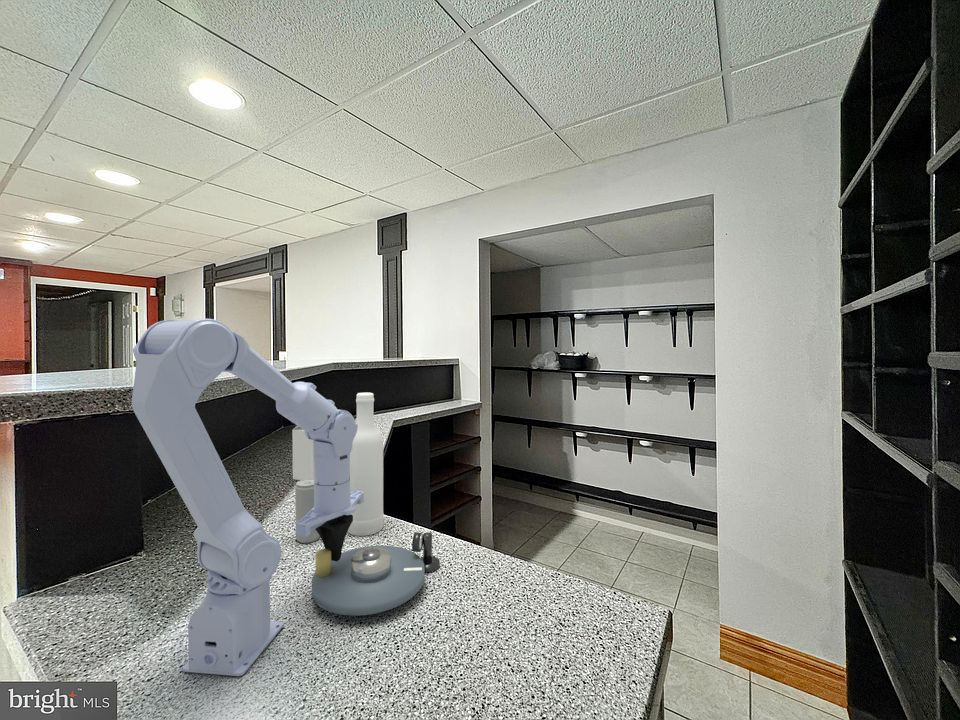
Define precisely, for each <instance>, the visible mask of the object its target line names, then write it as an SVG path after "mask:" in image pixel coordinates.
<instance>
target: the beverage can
mask: <svg viewBox="0 0 960 720" xmlns="http://www.w3.org/2000/svg"><path fill="white" fill-rule="evenodd" d="M295 483H296V484H295V487H294V489H295V490H294V491H295V493H294V494H295V495H294V496H295V498H294V499H295V523H296V522H298V521H300V520H301V519H302V518H303V517H304V516H305V515H306V514H307V513H308V512H309V511H310V510H311V509H312V508H313V507H314V479H304V480H297V482H295ZM319 538H321V537H320V535H319V534H318V532H317V531H316V529H314V530H312V531H311V532H310V535H309V536H307V537H303V536H298V535H296V534H295V540H297V542H299V543H301V544H310V543H313V542H316V541H317V540H318V539H319Z"/></svg>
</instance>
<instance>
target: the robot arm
mask: <svg viewBox="0 0 960 720" xmlns="http://www.w3.org/2000/svg"><path fill="white" fill-rule="evenodd" d="M132 353H133V355H134V360H135V364H136V365H135V372H134V377H133V378H134V380H133V387H132V396H131V408H132V410H133V412H134V414H135V416H136V418H137V419H138V421H139V423H140V425H141V427H142V428H143V431H144V432H145V434H146V437H147V438H148V440H149V441H150V443H151V445H152V447H153V449H154V451H155V452H156V454H157V455H158V458H159V459H160V461H161V463H162V465H163V467H164V468H165V470H166V472H167V474H168V476H169V477H170V479H171V481H172V483H173V484H174V486H175V488H176V490H177V492H178V493H179V496H180V497H181V499H182V500H183V502H184V504H185V506H186V508H187V510H188V512H189V513H190V515H191V516H192V518H193V520H194V523H195V524H196V526H197V527H196V529H195V530H194V531H193V537H194V539H195V541H196V544H197V545H196V546H197V548H196V549H197V551H196V558H197V562H198V564H199V565H200V567H202V568H203V569H205V570H207V590H206V594H205V596H204V598H203V600H202V602H201V604H200V605H198V607H197V608H196V609H195V611H193V613H192V614H191V616H190V618H189V621H188V624H187V625H188V627H187V630H188V632H187V633H188V635H187V636H188V637H187V639H188V641H187V642H188V644H187V645H188V646H187V647H188V661H187V662H186V663H185V664H184V665H183V666H182V672H186V673H195V674H196V673H197V674H206V675H207V674H209V675H219V676H232V677H241V676H243V675H244V674H246V673H247V671H248V670H249V669H250V668H251V666H252V665H253V664H254V662H255V661H257V659H258V657H259V656H260V655H261V654H262V653H263V651H264V650H265V649H266V648H267V647H268V646H269V644H271V642H272V641H273V640H274V639H275V637H276V636H277V635H278V634H279V632H280V631H281V629H282V628H283V627H284V624H285V623H284V622H283V621H275V620H271V586H270V585H271V583H270V581H271V579H272V578H273V577H272V576H273V574H275V571H276V570H277V568H278V566H279V564H280V562H281V556H282V547H281V544H280V541H279V540H278V539H277V538H276V537H274V536H271V535H270V534H268V533H267V532H266V530H265V528H264V527H263V524H262V523H261V522H260V521H258V520H257V519H256V518H255V517H254V516H253V515H252V514H251V513H250V512H249V511H247V510H246V508H245V507H244V504H243V501H242V500H241V499H240V496H239V494H238V492H237V490H236V488H235V486H234V484H233V482H232V480H231V478H230V476H229V474H228V472H227V470H226V467H225V466H224V464H223V462H222V460H221V456H220V455H219V453H218V451H217V450H216V448H215V445H214V443H213V442H212V439H211V438H210V437H211V436H210V435H209V433H208V431H207V429H206V426H205V425H204V423H203V421H202V418H201V417H200V415H199V413H198V411H197V408H196V404H197V402H198V399H199V398H200V397H201V395H202V393H203V391H204V390H205V389H207V387H208V386H209V385H210V384H211V383H213V381H214V380H215V379H216V378H218V377H219V376H220V375H221V374H222V373H224V372H225V373H230V374H232V375H234V376H235V377H237V378H238V379H241V381H242V382H243V381H244V382H245V383H247V384H248V385H250V386H252V387H254V389H257V390H258V391H260V392H261V393H263V394H264V395H265V396H268V397H270V398H271V399H273V400H274V401H275V409H276V411H277V413H278V414H279V415H281V416H282V417H284V418H285V419H287V420H288V421H290V422H291V423H292V424H294V425H296V426H297V425H298V426H299V427H301V428H302V429H304V431H305V435H306V437H307V438H308V439H311V440H314V441H313V451H314V507H313V508H312V509H311V510H310V511H309V512H308V513H307V514H306V515H305V516H304V517H303V518H302V519H301V520H300V521H298V522H296V521H295V536H296V535H298V536H303V537H307V536H309V535H310V532H311V531H312V530H314V529H316V531H317V532H318V534H319V535H320V537H319V538H320V539H321V542H322V544H323V546H324V549H330V550H331V560H332V561H338V560H340V558H341V553H343V552H342V551H343V546H344V543H345V539H346V536H347V534H348V529H349V527H350V525H351V523H352V522H353V515H350V514H352V513H354V512H355V507H354V506H355V505H356V504H361V503H363V502H364V492H361V491H353V492H351V493H350V453H351V450H352V449H353V448H352V443H353V439H354V437H355V435H356V433H357V429H358V424H357V422H356V419H355V418H354V416H353V415H352V413H350V411H348V410H346V409H338V407H336V405H335V402H334V401H333V400H332V399H327V398H326V397H324V396H323V395H322V394H320V393H319V392H318V391H317V390H316V389H317V386H316V385H315V383H312V382H305V381H295V382H292V381H291V380H289V378H287V377H286V376H285V375H284V374H283V373H281V371H279V370H278V369H277V368H275V366H273V365H272V364H271V363H270V362H269V361H268V360H266V359H265V358H264V357H263V356H262V355H260V353H258V352H257V351H256V350H255V349H254V348H252V347H251V345H249V343H248V342H247V340H246V338H245V337H244V336H243V335H241V334H239V333H237V332H235V331H233V330H231V328H230V327H229V326H228V325H227V324H225V323H224V322H221V321H219V320H218V319H214V318H201V319H197V320H194V319H193V320H173V319H172V320H171V319H167V320H166V319H165V320H160V321H158V322H155V323H153V324H152V325H150V326H149V327H148V328H147V329H146V330H145V331H144V333H143V334H142V335H141V337H140V338H139V340H138V341H137V342H136V344H135V346H134V347H133V349H132Z"/></svg>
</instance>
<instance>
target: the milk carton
mask: <svg viewBox="0 0 960 720" xmlns="http://www.w3.org/2000/svg"><path fill="white" fill-rule="evenodd" d="M291 431H292V433H291V435H292V480H297V481H300V480H304V479H314V451H313V441H314V440H311V439H308V438H307V437H306V435H305V431H304V429H302V428H301V427H299V426H298V425H296V426H295V427H294V428H293V429H292V430H291Z"/></svg>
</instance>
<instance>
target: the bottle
mask: <svg viewBox="0 0 960 720" xmlns="http://www.w3.org/2000/svg"><path fill="white" fill-rule="evenodd" d="M374 402H375V397H374V393H373V392H357V394H356V399H355V403H356V424H358V429H357V433H356V435H355V437H354V439H353V443H352V448H353V449H352V450H351V453H350V493H351V492H353V491H361V492H364V502H363V503H361V504H356V505H355V506H354V507H355V512H354V513H352V514H350V515H353V522H352V523H351V525H350V527H349V529H348V531H347V534H349V535H352V536H354V537H355V536H356V537H367V536H371V535H375V534H377V533H379V532H381V530H382V529H383V528H384V519H385V518H384V516H385V515H384V437H383V435H382V432H381V430H380V429H379V428H378V427H377V426H376V425H375V424H374V418H375V417H374V412H375V411H374Z"/></svg>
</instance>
